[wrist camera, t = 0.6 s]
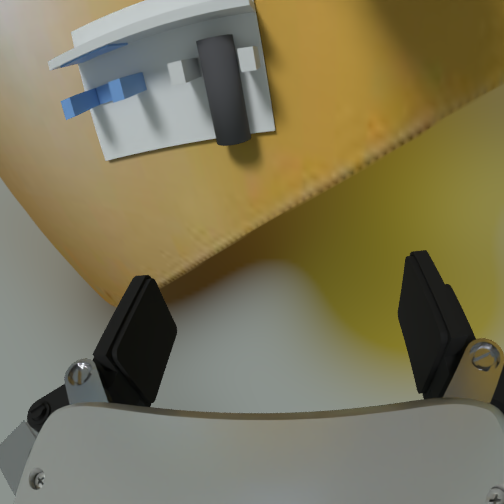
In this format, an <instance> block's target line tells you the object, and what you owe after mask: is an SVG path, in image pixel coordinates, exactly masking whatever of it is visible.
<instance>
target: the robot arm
mask: <svg viewBox="0 0 504 504" xmlns="http://www.w3.org/2000/svg"><path fill="white" fill-rule="evenodd" d="M398 319H399V323H400V326H401V329H402V333H403V336H404V340H405V343H406V347H407V351H408V354H409V358H410V362H411V366H412V370H413V374H414V378H415V382H416V387H417V391H418V393H419V394H420V393H423V398H424V400H416V401H409V402H402V403H395V404H387V405H379V406H370V407H362V408H353V409H342V410H330V411H316V412H298V413H297V412H295V413H219V412H199V411H184V410H172V409H161V408H152V407H150V406H151V403H153V402H154V401H155V399H156V396H157V393H158V390H159V387H160V383H161V380H162V377H163V374H164V371H165V368H166V365H167V362H168V359H169V356H170V352H171V350H172V347H173V343H174V341H175V338H176V335H177V327H176V324H175V322H174V320H173V318H172V316H171V314H170V312H169V310H168V307H167V305H166V303H165V301H164V299H163V296H162V294H161V292H160V290H159V288H158V285H157V283H156V281H155V280H154V279H153V278H151V277H150V276H149V275H142V276H135V277H134V278H133V279H132V281H131V283H130V285H129V287H128V288H127V290H126V292H125V294H124V296H123V297H122V299H121V301H120V303H119V305H118V306H117V308H116V310H115V312H114V314H113V316H112V318H111V320H110V321H109V324H108V325H107V328H106V329H105V331H104V333H103V335H102V337H101V339H100V341H99V343H98V345H97V347H96V349H95V351H94V353H93V355H94V359H93V361H92V360H90V359H87V358H85V359H80V360H77V361H76V362H74V363H73V364H72V365H71V366H70V367H69V368H68V370H67V371H66V373H65V377H64V378H65V379H64V380H65V384H64V385H62V386H61V387H59V388H57V389H56V390H54V391H52V392H51V393H49V394H47V395H46V396H44V397H42V398H41V399H39V400H37V401H36V402H35V403H34V404H33V405H32V406H31V407H30V409H29V411H28V416H27V422H25V421H23V422H22V423H21V424H20V425H19V426H18V427H17V428H16V429H15V430H14V431H13V432H12V433H11V434H10V435H9V436H8V437H7V438H6V439H5V440H4V441H3V442H2V443H1V444H0V468H1V470H2V473H3V475H4V476H5V478H6V480H7V482H8V484H9V486H10V488H11V489H12V491H13V493H14V494H15V500H14V504H504V354H503V351H502V349H501V348H500V347H499V345H497V344H496V343H495V342H493V341H492V340H489V339H485V338H482V339H481V338H480V339H476V338H475V336H474V333H473V331H472V329H471V327H470V324H469V322H468V320H467V318H466V316H465V314H464V312H463V309H462V308H461V305H460V303H459V301H458V299H457V297H456V295H455V293H454V291H453V289H452V288H451V286H450V285H449V284H444V282H443V280H442V278H441V276H440V274H439V272H438V271H437V268H436V267H435V265H434V263H433V261H432V259H431V257H430V256H429V254H428V252H427V251H426V250H423V251H415V252H411V253H410V256H407V257H406V259H405V267H404V274H403V282H402V289H401V295H400V301H399V308H398ZM490 489H491V490H490Z"/></svg>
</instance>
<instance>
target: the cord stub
mask: <svg viewBox="0 0 504 504" xmlns="http://www.w3.org/2000/svg"><path fill="white" fill-rule="evenodd" d="M196 44H197V49H198V54H199V59H200V64H201V68H202V73H203V78H204V83H205V88H206V93H207V98H208V102H209V107H210V112H211V117H212V121H213V126H214V131H215V136H216V140H217V144H218V145H222V146H227V145H235V144H239V143H243V142H245V141H248V140H249V139H250V138H251V134H250V128H249V122H248V117H247V111H246V105H245V100H244V94H243V88H242V83H241V77H240V72H239V66H238V61H237V56H236V50H235V45H234V39H233V34H227V35H220V36H214V37H209V38H205V39H201V40H198V41H196Z"/></svg>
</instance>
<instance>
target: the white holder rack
mask: <svg viewBox="0 0 504 504" xmlns="http://www.w3.org/2000/svg"><path fill="white" fill-rule="evenodd" d="M71 34H72V39H73V43H74V48H73V49H71V50H69V51H67V52H65V53H63V54H61V55H59V56H57V57H55V58H54V59H52V60H50V61H48V64H49V69H50V70H54V69H58V68H62V67H66V66H70V65H74V64H78V66H79V70H80V74H81V78H82V82H83V86H84V90H85V92H83V93H80V94H77V95H75V96H72V97H70V98H67V99H65V100H63V101H61V104H62V107H63V111H64V114H65V118H66V120H67V119H70V118H72V117H75V116H77V115H79V114H81V113H83V112H85V111H87V110H90V112H91V115H92V118H93V122H94V125H95V129H96V132H97V135H98V138H99V142H100V145H101V148H102V151H103V154H104V157H105V160H106V161H107V160H111V159H115V158H119V157H124V156H128V155H132V154H137V153H141V152H146V151H150V150H155V149H160V148H165V147H170V146H175V145H180V144H186V143H191V142H197V141H203V140H209V139H215V138H216V136H215V131H214V126H213V121H212V117H211V112H210V107H209V102H208V98H207V93H206V88H205V83H204V78H203V73H202V68H201V64H200V59H199V54H198V49H197V44H196V41H198V40H201V39H205V38H209V37H214V36H220V35H227V34H233V39H234V45H235V50H236V56H237V61H238V66H239V72H240V77H241V83H242V88H243V94H244V100H245V105H246V111H247V117H248V122H249V128H250V134H251V133H259V132H268V131H275V125H274V118H273V111H272V105H271V98H270V92H269V85H268V79H267V73H266V67H265V61H264V55H263V49H262V43H261V37H260V32H259V26H258V21H257V15H256V10H255V4H254V0H145V1H142V2H140V3H137V4H134V5H131V6H129V7H126V8H124V9H121V10H119V11H116V12H114V13H111V14H109V15H107V16H104V17H102V18H100V19H97V20H95V21H93V22H91V23H89V24H87V25H85V26H82V27H80V28H78V29H76V30H74V31H72V32H71Z"/></svg>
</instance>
